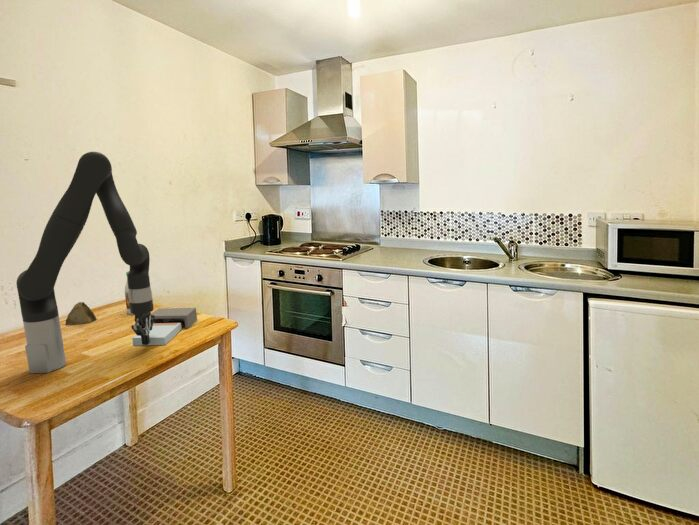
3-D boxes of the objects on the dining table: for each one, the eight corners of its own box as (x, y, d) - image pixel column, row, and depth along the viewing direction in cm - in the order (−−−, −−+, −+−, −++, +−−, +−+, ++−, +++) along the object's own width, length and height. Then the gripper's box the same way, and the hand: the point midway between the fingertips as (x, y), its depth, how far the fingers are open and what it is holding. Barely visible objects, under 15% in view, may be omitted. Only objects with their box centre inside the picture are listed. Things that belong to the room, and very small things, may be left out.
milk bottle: (128, 311, 190) (123, 270, 186) (145, 308, 193) (141, 269, 189) (126, 315, 183) (121, 273, 179) (145, 313, 186) (140, 272, 182)
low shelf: (188, 328, 166) (187, 315, 165) (148, 329, 165) (147, 316, 164) (197, 319, 176) (196, 307, 175) (160, 320, 176) (158, 308, 175)
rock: (56, 321, 168) (76, 319, 167) (62, 303, 172) (82, 301, 171) (77, 329, 178) (96, 327, 176) (82, 311, 182) (101, 309, 180)
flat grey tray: (165, 344, 149) (164, 336, 148) (133, 345, 148) (132, 337, 148) (181, 329, 164) (180, 322, 164) (152, 330, 164) (151, 323, 163)
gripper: (142, 304, 136) (147, 351, 139) (159, 294, 149) (164, 337, 152) (120, 304, 136) (126, 351, 139) (139, 294, 149) (144, 337, 152)
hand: (146, 344), depth 146 cm, fingers closed
